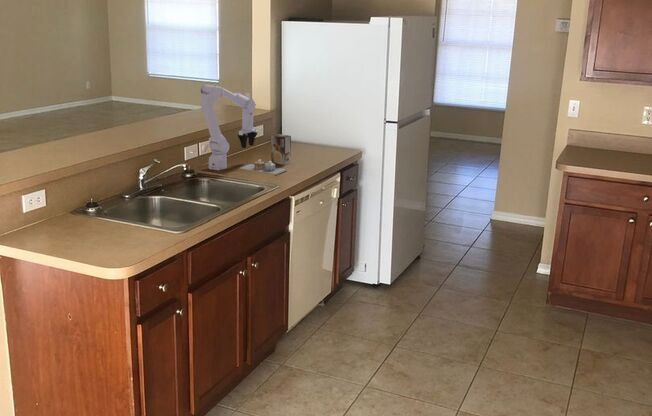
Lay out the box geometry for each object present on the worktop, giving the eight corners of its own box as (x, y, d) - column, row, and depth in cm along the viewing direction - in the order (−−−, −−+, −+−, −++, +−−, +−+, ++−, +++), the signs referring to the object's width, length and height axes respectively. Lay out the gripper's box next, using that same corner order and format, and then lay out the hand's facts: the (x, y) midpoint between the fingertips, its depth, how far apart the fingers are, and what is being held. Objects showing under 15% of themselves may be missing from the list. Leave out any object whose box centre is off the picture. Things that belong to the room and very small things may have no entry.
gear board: (275, 176, 341) (276, 165, 339) (238, 170, 349) (238, 159, 347) (286, 171, 351) (287, 161, 349) (250, 166, 360) (250, 155, 358)
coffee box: (291, 164, 366) (291, 135, 362) (285, 167, 361) (285, 137, 356) (276, 162, 370) (277, 133, 366) (270, 164, 365) (270, 135, 360)
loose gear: (261, 169, 347) (261, 164, 346) (252, 168, 349) (252, 162, 348) (266, 167, 352) (266, 162, 351) (257, 166, 354) (257, 160, 353)
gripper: (247, 123, 348) (246, 149, 352) (261, 120, 360) (260, 145, 364) (235, 122, 351) (235, 148, 354) (249, 118, 363) (249, 143, 367)
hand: (247, 146), depth 360 cm, fingers open, 7 cm apart
